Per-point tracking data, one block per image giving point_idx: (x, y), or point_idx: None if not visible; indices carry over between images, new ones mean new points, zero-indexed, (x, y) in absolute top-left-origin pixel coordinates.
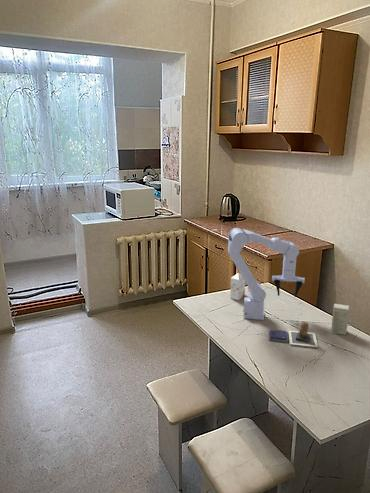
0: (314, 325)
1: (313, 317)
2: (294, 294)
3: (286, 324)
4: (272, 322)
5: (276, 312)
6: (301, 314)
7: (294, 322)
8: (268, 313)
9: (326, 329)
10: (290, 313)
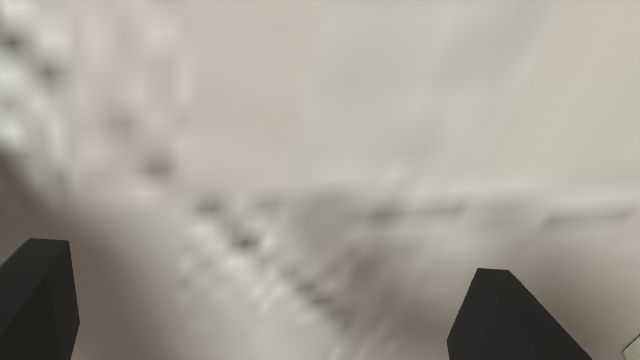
0: (539, 271)
1: (631, 116)
2: (484, 281)
3: (252, 279)
4: (97, 257)
5: (143, 5)
6: (513, 45)
7: (349, 238)
8: (17, 47)
9: (612, 318)
10: (360, 24)
